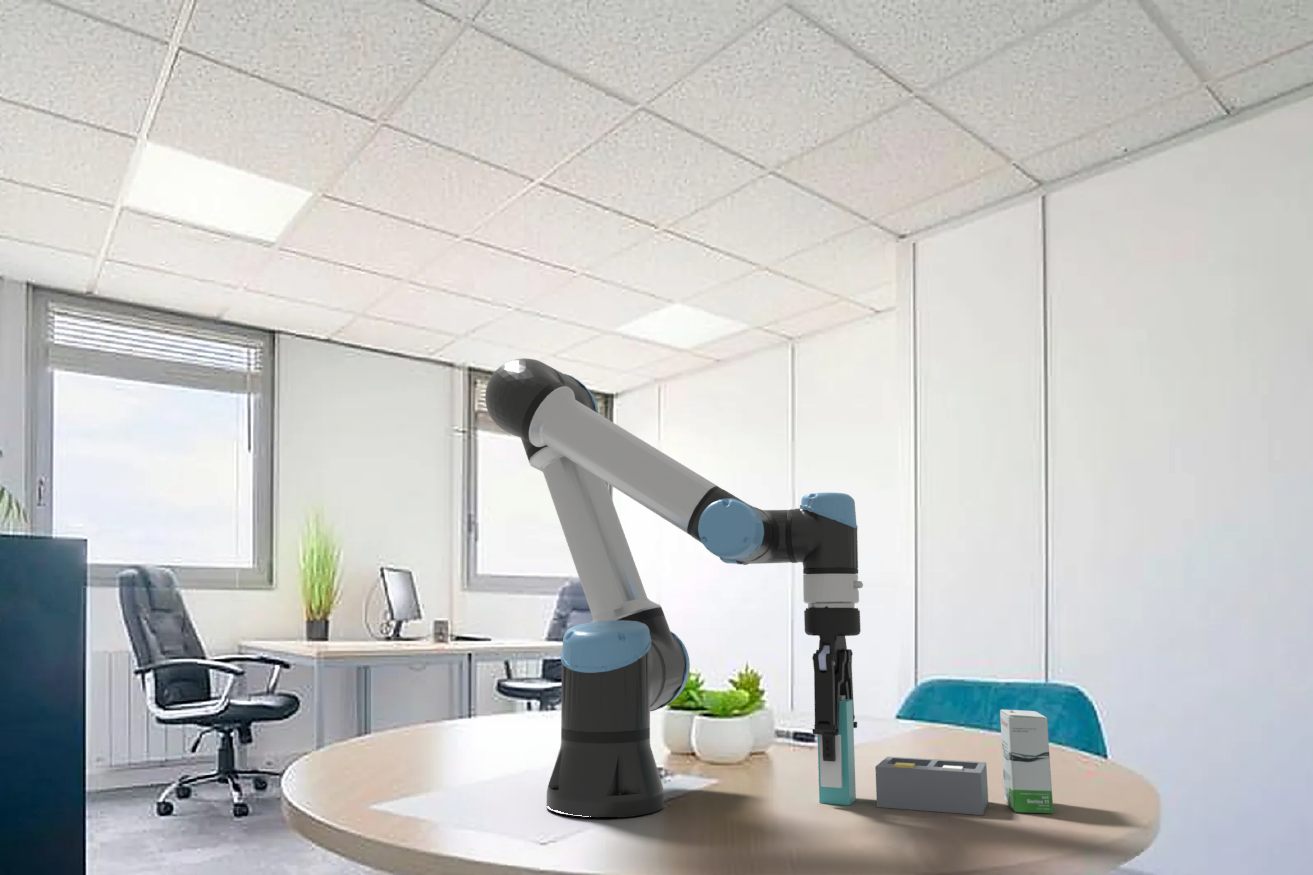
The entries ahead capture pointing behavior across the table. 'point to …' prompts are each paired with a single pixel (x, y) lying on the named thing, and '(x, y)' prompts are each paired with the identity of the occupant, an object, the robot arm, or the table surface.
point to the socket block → (932, 785)
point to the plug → (846, 731)
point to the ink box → (1026, 761)
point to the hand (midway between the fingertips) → (837, 782)
